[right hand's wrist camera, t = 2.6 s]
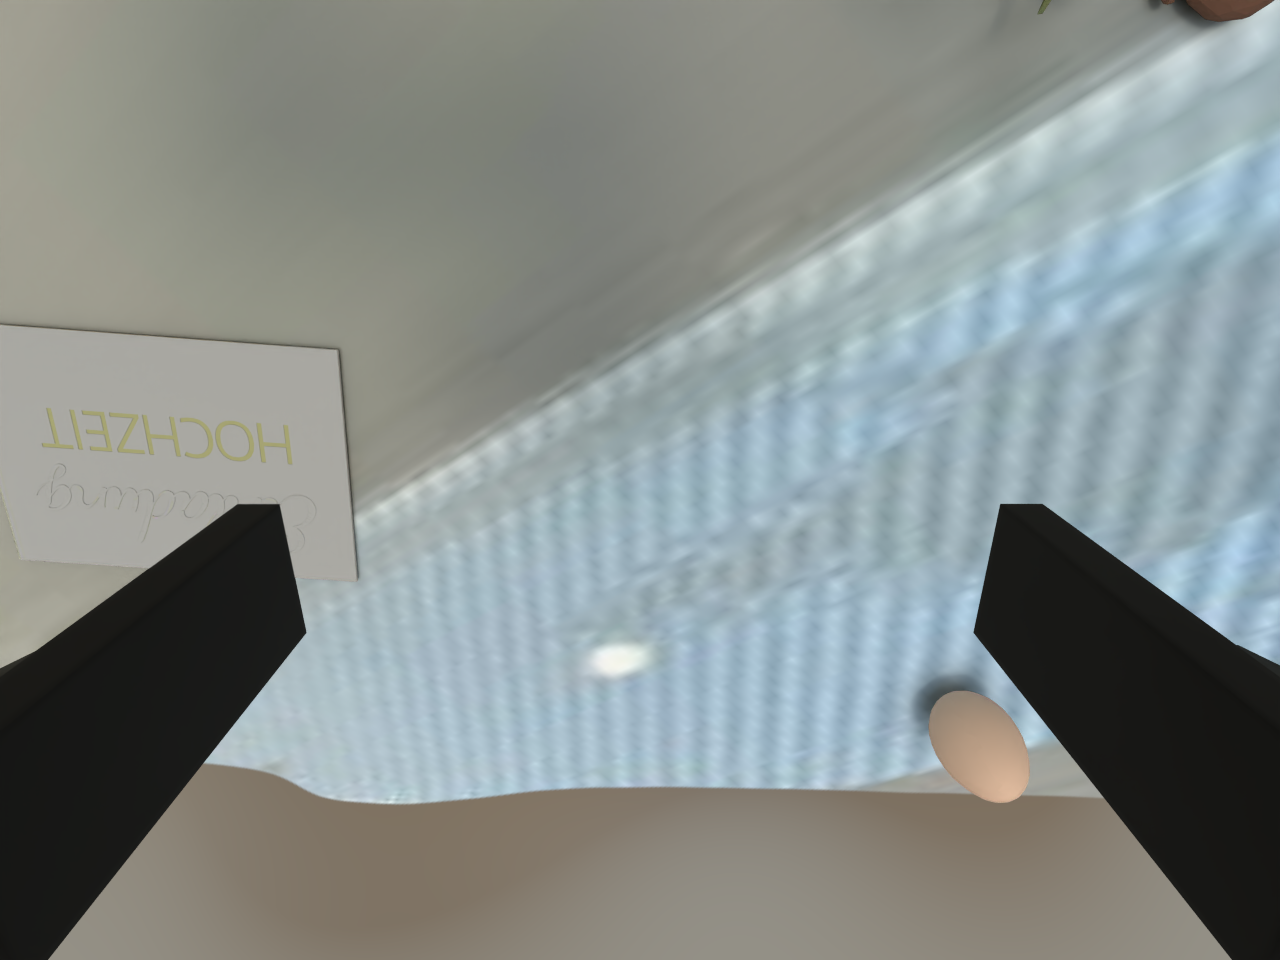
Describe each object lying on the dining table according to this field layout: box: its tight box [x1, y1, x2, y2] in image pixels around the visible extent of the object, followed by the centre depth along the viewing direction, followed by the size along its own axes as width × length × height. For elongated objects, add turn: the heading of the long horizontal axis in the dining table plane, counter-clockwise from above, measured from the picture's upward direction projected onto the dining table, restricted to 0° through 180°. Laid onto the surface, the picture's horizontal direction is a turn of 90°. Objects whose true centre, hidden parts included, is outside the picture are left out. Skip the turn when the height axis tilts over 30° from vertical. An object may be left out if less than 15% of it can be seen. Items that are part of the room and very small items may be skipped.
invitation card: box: [0, 324, 358, 582], centre depth 41 cm, size 21×1×15 cm
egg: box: [929, 691, 1030, 803], centre depth 44 cm, size 5×5×8 cm
